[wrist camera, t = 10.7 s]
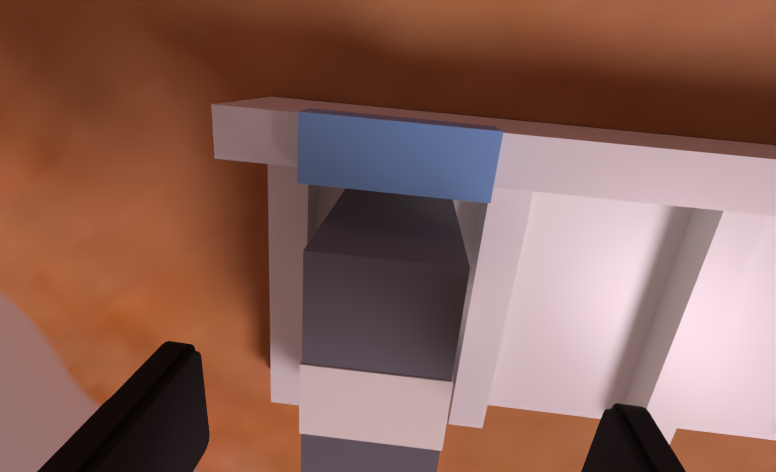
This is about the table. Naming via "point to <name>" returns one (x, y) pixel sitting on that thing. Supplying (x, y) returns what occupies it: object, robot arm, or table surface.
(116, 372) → the table surface
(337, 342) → the block
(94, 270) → the table surface
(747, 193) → the white ribbed panel
